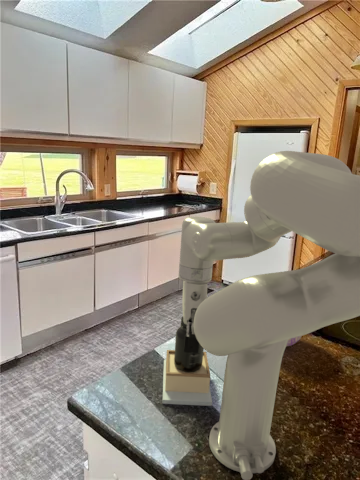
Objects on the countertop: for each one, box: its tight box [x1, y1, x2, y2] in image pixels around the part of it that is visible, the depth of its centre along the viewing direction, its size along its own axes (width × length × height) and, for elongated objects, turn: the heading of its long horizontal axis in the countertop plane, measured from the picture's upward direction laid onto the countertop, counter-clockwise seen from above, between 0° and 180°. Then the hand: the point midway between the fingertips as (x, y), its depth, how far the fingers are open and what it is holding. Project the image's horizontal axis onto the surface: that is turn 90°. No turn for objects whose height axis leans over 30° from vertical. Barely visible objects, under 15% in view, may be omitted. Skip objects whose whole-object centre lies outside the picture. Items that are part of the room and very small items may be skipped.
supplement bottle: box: [174, 316, 205, 372], centre depth 83 cm, size 7×7×12 cm
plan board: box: [161, 349, 213, 407], centre depth 85 cm, size 16×11×6 cm
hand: (189, 341), depth 83 cm, fingers open, 9 cm apart
